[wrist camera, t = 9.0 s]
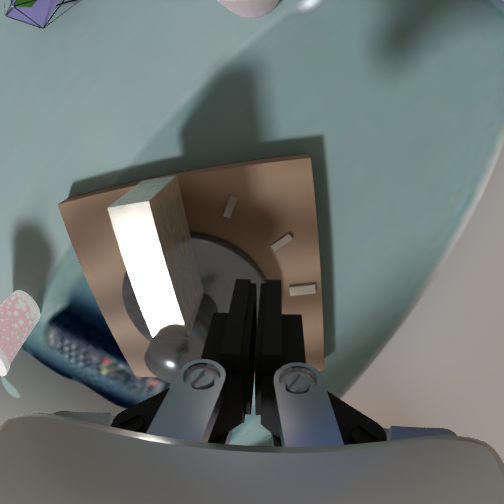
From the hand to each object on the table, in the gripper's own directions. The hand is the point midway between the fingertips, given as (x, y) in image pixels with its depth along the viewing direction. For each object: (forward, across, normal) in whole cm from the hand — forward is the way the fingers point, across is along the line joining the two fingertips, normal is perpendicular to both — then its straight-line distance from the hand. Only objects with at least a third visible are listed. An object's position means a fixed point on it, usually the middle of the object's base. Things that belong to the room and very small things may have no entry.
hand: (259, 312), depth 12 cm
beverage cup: (+13, +28, +12) cm, 33 cm away
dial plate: (+13, +6, +7) cm, 16 cm away
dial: (+11, +6, +5) cm, 14 cm away
